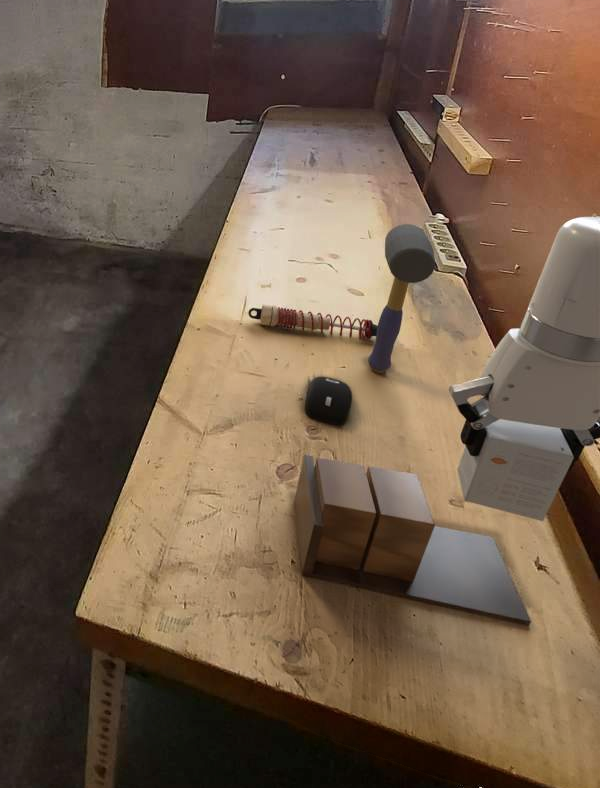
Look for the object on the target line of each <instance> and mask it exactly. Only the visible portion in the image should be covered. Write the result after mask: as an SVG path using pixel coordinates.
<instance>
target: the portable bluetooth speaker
mask: <svg viewBox="0 0 600 788" xmlns="http://www.w3.org/2000/svg"><path fill="white" fill-rule="evenodd" d="M352 402H353V393H352V390H351V387H350V386H349V385H348V384H347V383H346V382H344V381H341V380H339V379H336V378H332V377H328V376H316V377H314V378H313V379H312V380H311V381H310V383H309V385H308V388H307V391H306V395H305V402H304V412H305V414H306V415H307V416H309V417H311V418H313V419H316V420H319V421H323V422H326V423H329V424H333V425H338V426H342V425H345V424H346V423H347V421H348V419H349V416H350V412H351V409H352V408H351V407H352V404H353V403H352Z"/></svg>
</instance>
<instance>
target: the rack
mask: <svg viewBox="0 0 600 788" xmlns="http://www.w3.org/2000/svg"><path fill="white" fill-rule="evenodd" d="M293 509H294V518H295V526H296V536H297V546H298V556H299V562H300V575H301V576H302V577H307V578H312V579H317V580H321V581H325V582H330V583H333V584H334V583H335V584H338V585H339V584H340V585H344V586H348V587H353V588H358V589H362V590H367V591H370V592H376V593H379V594H384V595H388V596H393V597H398V598H401V599H402V598H403V599H406V600H412V601H415V602H421V603H424V604H430V605H434V606H439V607H443V608H447V609H451V610H456V611H462V612H466V613H470V614H474V615H479V616H483V617H488V618H492V619H498V620H500V621H501V620H502V621H506V622H511V623H514V624H515V623H516V624H518V625H525V626H530V625H531V624H532V620H531V618H530V616H529V614H528V612H527V609H526V607H525V604H524V603H523V601H522V598H521V596H520V594H519V592H518V590H517V587H516V585H515V583H514V580H513V579H512V576H511V574H510V572H509V570H508V568H507V565H506V563H505V560H504V559H503V556H502V554H501V552H500V550H499V548H498V545H497V543H496V541H495V539H494V537H493V536H490V535H485V534H479V533H474V532H469V531H465V530H464V531H463V530H458V529H454V528H447V527H443V526H437V525H436V523H435V520H434V517H433V514H432V511H431V509H430V507H429V503H428V500H427V497H426V495H425V492H424V489H423V487H422V484H421V481H420V479H419V476H418V474H416V473H410V472H405V471H399V470H394V469H393V470H392V469H387V468H381V467H376V466H370V465H368V466H367V470H366V468H365V465H363V464H359V463H358V464H357V463H352V462H347V461H341V460H334V459H330V458H329V459H328V458H323V457H316V459H315V460H314V456H313V455H308V454H303V459H302V462H301V467H300V472H299V477H298V481H297V487H296V491H295V496H294V500H293Z"/></svg>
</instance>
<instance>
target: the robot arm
mask: <svg viewBox="0 0 600 788" xmlns="http://www.w3.org/2000/svg"><path fill="white" fill-rule="evenodd" d="M533 291H534V292H533V293H532V297H531V298H530V301H529V304H528V307H527V309H526V311H525V314H524V317H523V319H522V322H521V325H520V327H519V328H510V329H509V330H508V331H507V333H505V335H504V336H503V337H502V338H501V340H500V341H499V343H498V344H497V346H496V347H495V349H494V350H493V352H492V354H491V355H490V358H489V359H488V361H487V363H486V364H485V366H484V369H483V370H482V372H481V375H480V377H479V378H476V379H473V380H469V381H465V382H462V383H457V384H452V385H450V386H449V387H448V391H449V394H450V395H451V397H452V400H453V402H454V404H455V406H456V408H457V411H458V412H459V414H461V415H462V417H463V418H465V421H464V424H463V427H462V429H461V431H460V441H461V443H462V444H463V445H465V446H466V447H467V449H468V452H469V454H470V455H471V456H475V457H476V456H478V455H479V453H480V451H481V448H482V445H483V443H484V440H485V438H486V435H487V431H486V429H485V427H486V426H488V425H490V424H492V423H494V422H495V421H497V420H499V419H503V420H508V421H515V422H521V423H528V424H534V425H541V426H548V427H555V428H560V429H561V431H562V433H563V435H564V438H565V440H566V442H567V444H568V446H569V448H570V450H571V452H572V454H573V457H574V458H573V460H572V463H571V465H570V467H569V469H568V471H567V472H569V473H570V472H572V469H573V467H574V465H575V463H576V462H577V461H578V460H579V459H580V456H581V455H582V452H583V451H584V449H585V447H591V446H593V445H594V444H595V441H596V440H598V439H600V216H579V217H576V218H572V219H569V220H568V221H565V223H563V225H562V226H561V227H560V228H559V229H558V231H557V234H556V235H555V237H554V240H553V243H552V246H551V248H550V251H549V253H548V255H547V258H546V260H545V263H544V266H543V268H542V270H541V273H540V276H539V278H538V281H537V284H536V286H535V289H534V290H533ZM477 396H481V398H479V399H478V400H476V401H474V402H472V403H471V402H469V401H468V399H469V398H472V397H477ZM485 410H489V411H487V412H486V413H484V414H482V415H480V414H479V413H481V412H483V411H485Z"/></svg>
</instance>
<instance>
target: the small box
mask: <svg viewBox="0 0 600 788" xmlns="http://www.w3.org/2000/svg"><path fill="white" fill-rule="evenodd" d="M487 411H489V410H488V409H487V410H485V411H483V412H481V413H479V414H480V415H482V414H484V413H486V412H487ZM485 429H486V431H487V435H486V438H485V440H484V443H483V445H482V448H481V451H480V453H479V455H478V456H476V457H475V456H471V455H470V454H469V452H468V449H467V447H466V445H465V447H464V450H463V452H462V455H461V458H460V460H459V463H458V466H457V474H458V479H459V483H460V487H461V492H462V496H463V500H464V502H468V503H472V504H476V505H480V506H484V507H486V508H491V509H495V510H499V511H501V512H502V511H503V512H506V513H509V514H513V515H518V516H520V517H525V518H529V519H533V520H537V521H540V522H543V521H544V520H545V518H546V517H547V514H548V512H549V510H550V508H551V505H552V504H553V502H554V500H555V497H556V495H557V493H558V491H559V489H560V487H561V486H562V484H563V483H562V482H563V481H564V480H565V477H566V475H567V472H569V471H568V469H569V467H570V465H571V463H572V460H573V458H574V457H573V454H572V452H571V450H570V448H569V446H568V444H567V442H566V440H565V438H564V435H563V433H562V431H561V429H562V428H555V427H548V426H541V425H534V424H528V423H521V422H515V421H508V420H503V419H499V420H497V421H495V422H494V423H492V424H490V425H488V426H486V427H485Z"/></svg>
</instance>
